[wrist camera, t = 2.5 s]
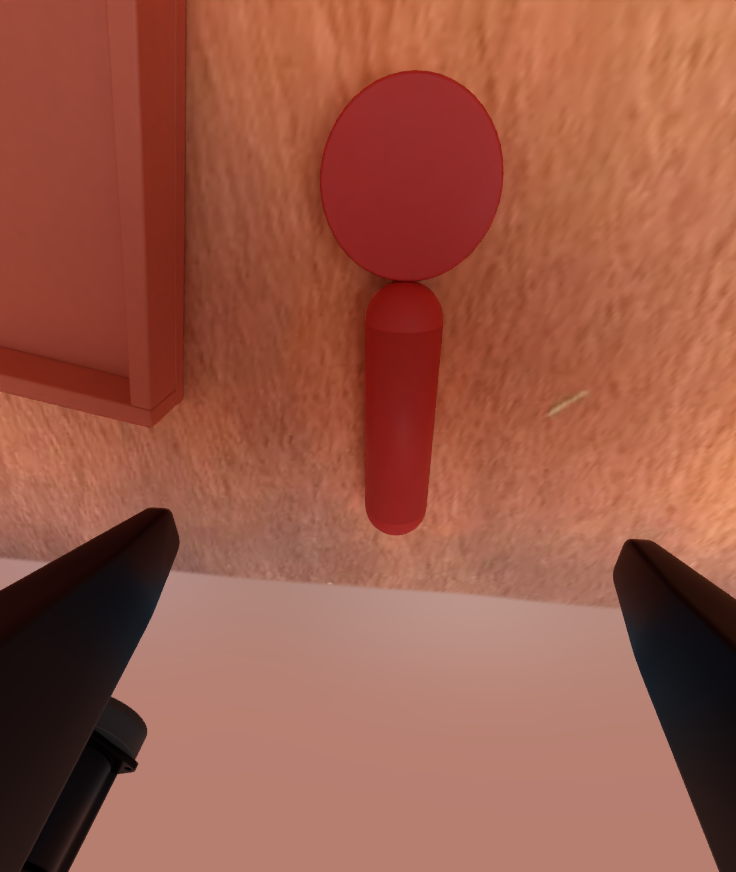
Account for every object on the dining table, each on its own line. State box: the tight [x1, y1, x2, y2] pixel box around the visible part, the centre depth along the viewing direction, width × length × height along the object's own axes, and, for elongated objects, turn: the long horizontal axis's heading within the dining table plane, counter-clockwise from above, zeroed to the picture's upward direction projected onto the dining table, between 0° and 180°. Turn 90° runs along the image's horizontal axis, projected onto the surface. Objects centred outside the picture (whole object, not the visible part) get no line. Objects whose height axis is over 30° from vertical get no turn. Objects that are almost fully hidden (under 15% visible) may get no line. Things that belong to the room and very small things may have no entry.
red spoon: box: [320, 70, 503, 535], centre depth 12 cm, size 12×4×2 cm, turn 0°
